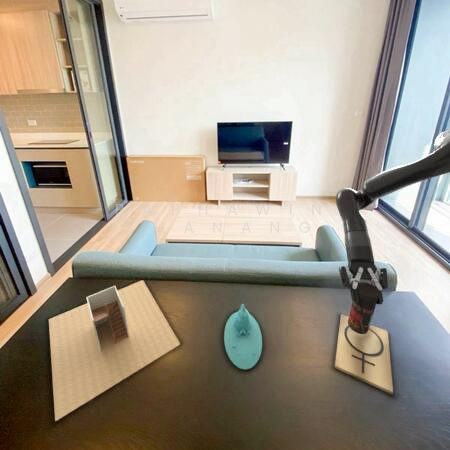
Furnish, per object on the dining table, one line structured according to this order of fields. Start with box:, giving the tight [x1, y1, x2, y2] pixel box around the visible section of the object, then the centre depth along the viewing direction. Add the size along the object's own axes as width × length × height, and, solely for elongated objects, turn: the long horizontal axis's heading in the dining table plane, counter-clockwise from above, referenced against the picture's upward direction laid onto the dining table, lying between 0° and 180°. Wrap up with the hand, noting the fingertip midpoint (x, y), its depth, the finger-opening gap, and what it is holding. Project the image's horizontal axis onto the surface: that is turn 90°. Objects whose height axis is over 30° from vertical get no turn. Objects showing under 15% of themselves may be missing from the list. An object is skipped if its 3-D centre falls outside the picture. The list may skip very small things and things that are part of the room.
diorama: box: [223, 303, 263, 371], centre depth 77 cm, size 12×20×9 cm, turn 0°
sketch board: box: [334, 313, 394, 395], centre depth 75 cm, size 14×20×1 cm
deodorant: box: [348, 281, 379, 334], centre depth 76 cm, size 6×6×15 cm
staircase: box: [85, 285, 130, 352], centre depth 77 cm, size 9×11×17 cm
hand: (368, 303), depth 73 cm, fingers closed on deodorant, 6 cm apart
